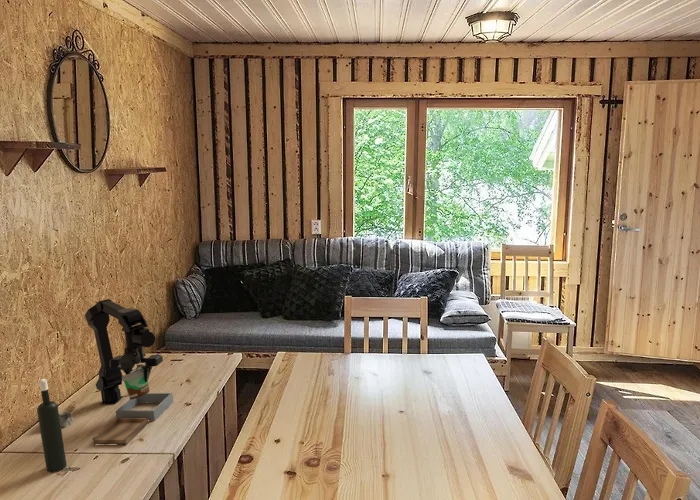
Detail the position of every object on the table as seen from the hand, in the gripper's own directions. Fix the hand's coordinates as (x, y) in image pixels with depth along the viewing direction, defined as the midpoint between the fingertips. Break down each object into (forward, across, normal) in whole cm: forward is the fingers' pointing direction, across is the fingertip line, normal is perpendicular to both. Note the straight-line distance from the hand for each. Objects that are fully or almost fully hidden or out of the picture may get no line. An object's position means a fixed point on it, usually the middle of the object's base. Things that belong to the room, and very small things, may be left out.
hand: (139, 382), depth 214 cm
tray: (+13, 0, -15) cm, 20 cm away
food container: (+5, +1, 0) cm, 5 cm away
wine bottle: (+13, -11, -38) cm, 41 cm away
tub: (+13, 0, +3) cm, 13 cm away
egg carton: (+14, -30, -8) cm, 34 cm away
